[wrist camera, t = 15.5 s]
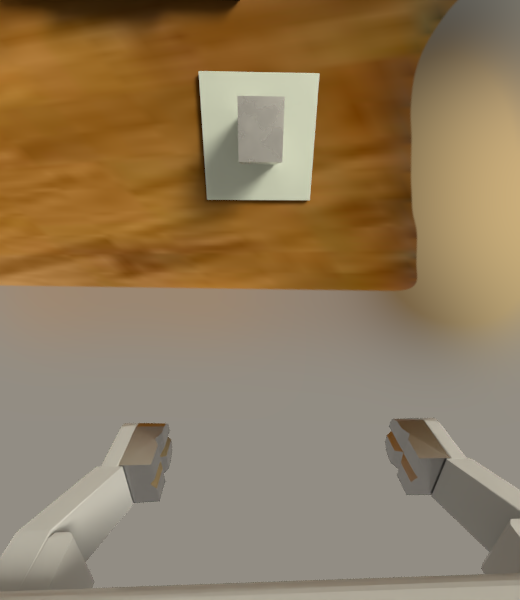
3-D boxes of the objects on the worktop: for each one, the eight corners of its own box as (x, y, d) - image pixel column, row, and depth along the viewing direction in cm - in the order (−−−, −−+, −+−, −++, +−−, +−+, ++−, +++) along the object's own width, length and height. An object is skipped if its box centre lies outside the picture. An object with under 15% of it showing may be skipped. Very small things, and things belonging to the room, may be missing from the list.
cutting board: (207, 199, 36) (206, 199, 35) (199, 73, 31) (198, 71, 30) (308, 199, 37) (309, 200, 36) (317, 75, 31) (319, 73, 31)
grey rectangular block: (241, 164, 34) (238, 161, 26) (240, 115, 32) (237, 95, 24) (274, 164, 34) (282, 162, 26) (275, 115, 32) (284, 96, 24)
